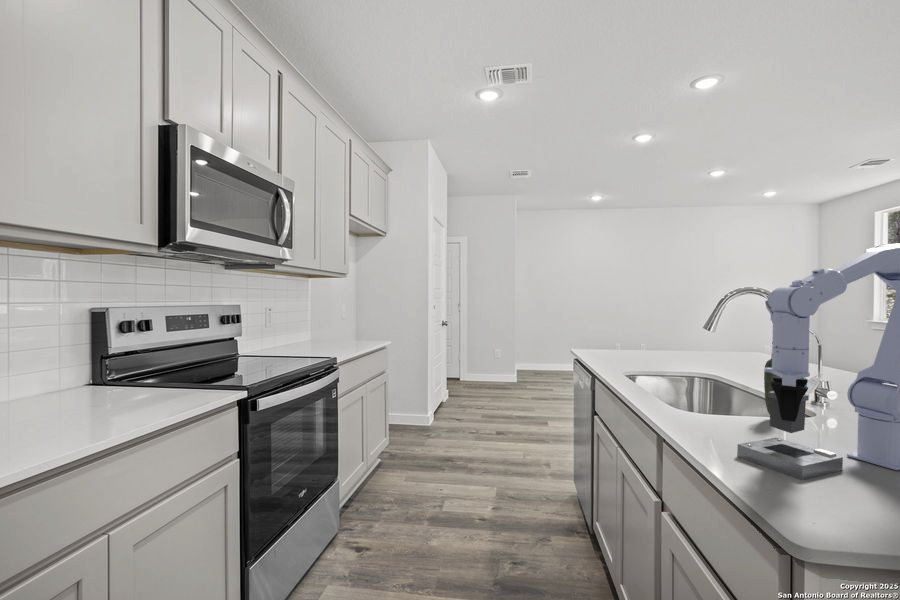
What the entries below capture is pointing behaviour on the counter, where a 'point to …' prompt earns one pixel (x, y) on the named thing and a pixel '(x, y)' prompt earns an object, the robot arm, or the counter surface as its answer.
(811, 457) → the socket plate
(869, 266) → the robot arm
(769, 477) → the counter surface
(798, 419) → the plug
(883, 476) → the counter surface
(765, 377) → the vegetable
